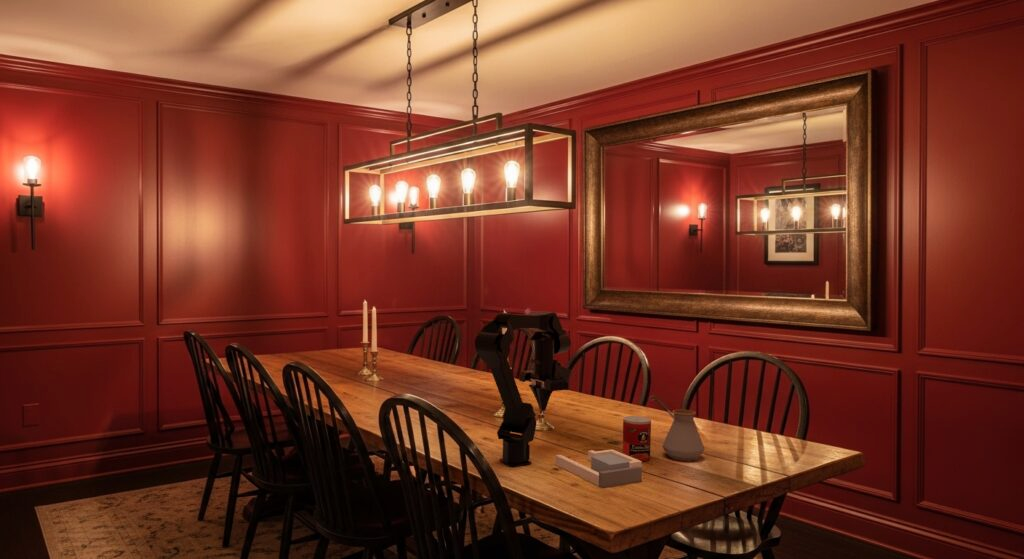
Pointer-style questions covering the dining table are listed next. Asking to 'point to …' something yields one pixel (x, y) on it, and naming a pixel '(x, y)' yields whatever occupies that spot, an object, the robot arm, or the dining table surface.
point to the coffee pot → (682, 435)
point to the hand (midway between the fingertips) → (543, 410)
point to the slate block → (608, 463)
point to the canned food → (637, 437)
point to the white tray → (604, 477)
